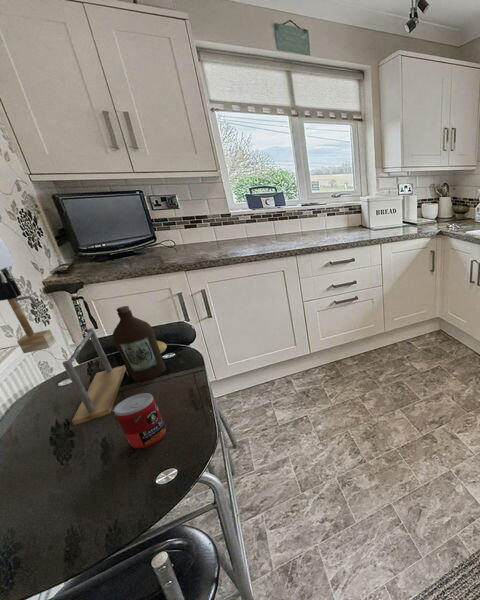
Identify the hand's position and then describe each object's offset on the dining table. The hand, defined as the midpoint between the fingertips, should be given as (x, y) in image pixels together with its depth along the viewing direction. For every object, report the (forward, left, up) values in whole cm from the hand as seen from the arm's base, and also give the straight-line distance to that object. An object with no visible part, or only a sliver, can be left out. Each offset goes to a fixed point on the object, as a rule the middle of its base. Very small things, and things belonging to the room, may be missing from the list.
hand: (10, 297), depth 81 cm
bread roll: (+17, +33, -37) cm, 52 cm away
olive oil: (+17, +14, -37) cm, 43 cm away
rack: (+5, +10, -37) cm, 39 cm away
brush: (0, 0, -14) cm, 14 cm away
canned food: (+20, -25, -37) cm, 49 cm away
